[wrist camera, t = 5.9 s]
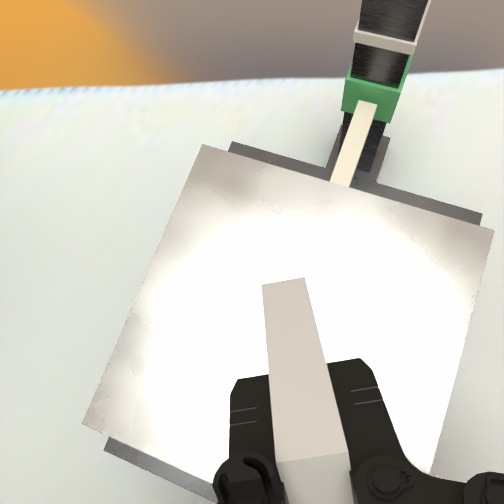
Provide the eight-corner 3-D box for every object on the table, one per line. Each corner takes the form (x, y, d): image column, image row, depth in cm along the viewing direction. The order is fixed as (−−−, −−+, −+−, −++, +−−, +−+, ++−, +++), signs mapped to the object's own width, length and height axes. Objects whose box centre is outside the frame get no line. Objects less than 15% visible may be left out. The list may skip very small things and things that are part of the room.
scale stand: (111, 446, 24) (-227, 590, 9) (251, 109, 28) (188, -193, 13) (378, 570, 21) (570, 1107, 6) (488, 173, 26) (767, -116, 10)
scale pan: (145, 407, 23) (81, 423, 16) (253, 140, 26) (236, 66, 19) (371, 505, 20) (403, 571, 14) (460, 199, 23) (519, 137, 17)
